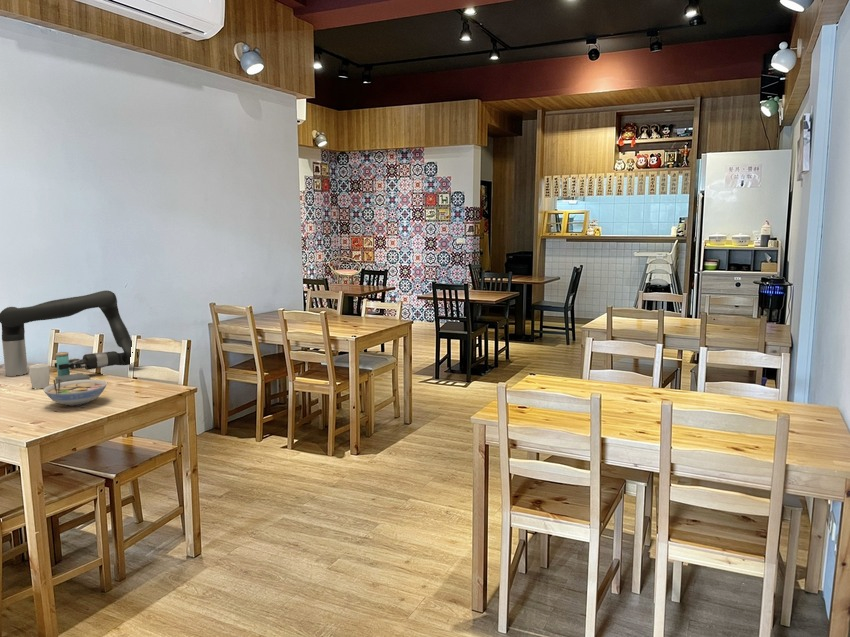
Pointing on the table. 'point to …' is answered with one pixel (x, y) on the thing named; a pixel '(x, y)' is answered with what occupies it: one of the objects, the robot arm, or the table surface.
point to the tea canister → (62, 359)
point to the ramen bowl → (75, 391)
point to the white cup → (39, 375)
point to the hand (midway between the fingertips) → (57, 366)
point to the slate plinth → (72, 377)
